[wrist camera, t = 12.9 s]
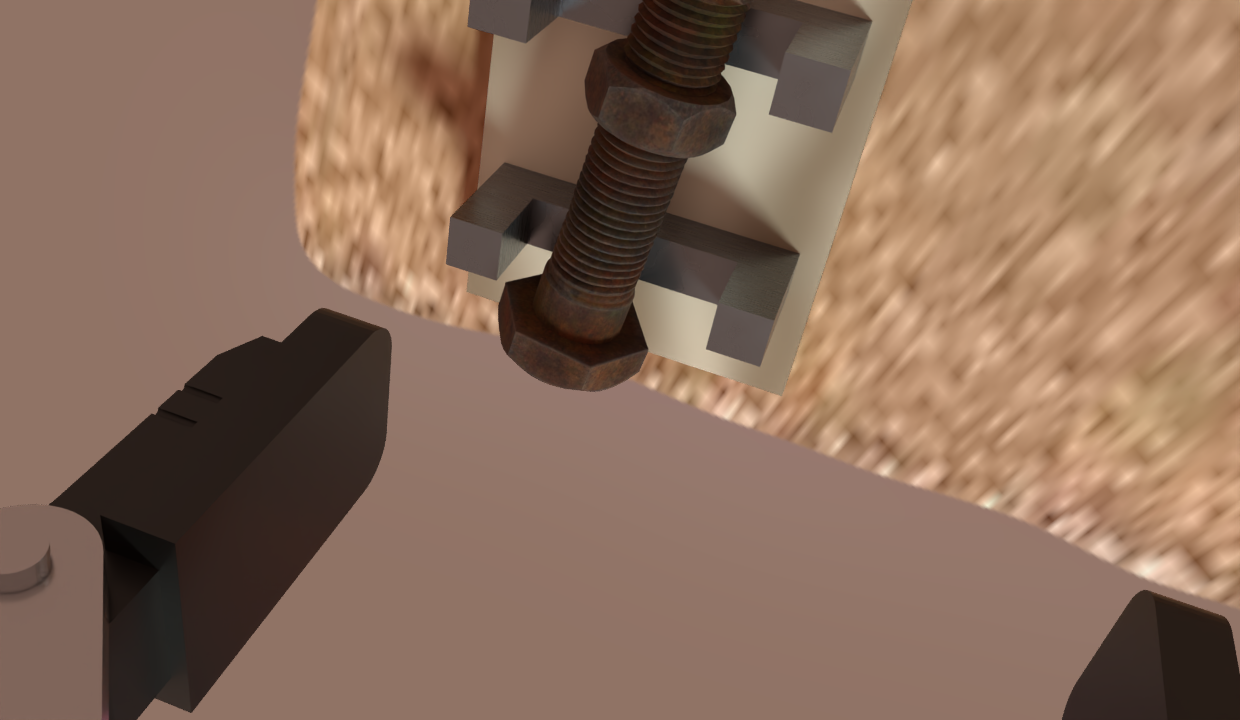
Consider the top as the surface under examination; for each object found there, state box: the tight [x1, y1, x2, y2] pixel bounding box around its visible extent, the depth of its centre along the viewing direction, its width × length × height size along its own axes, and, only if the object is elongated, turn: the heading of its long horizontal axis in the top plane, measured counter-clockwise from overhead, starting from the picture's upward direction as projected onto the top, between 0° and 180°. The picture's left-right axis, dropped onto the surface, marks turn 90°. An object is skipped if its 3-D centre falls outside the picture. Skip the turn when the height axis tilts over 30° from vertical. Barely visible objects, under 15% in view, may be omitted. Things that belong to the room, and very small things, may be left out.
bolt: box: [498, 0, 753, 392], centre depth 38 cm, size 6×5×15 cm
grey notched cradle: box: [446, 0, 873, 367], centre depth 39 cm, size 12×11×5 cm
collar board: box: [467, 0, 912, 396], centre depth 41 cm, size 14×20×2 cm
